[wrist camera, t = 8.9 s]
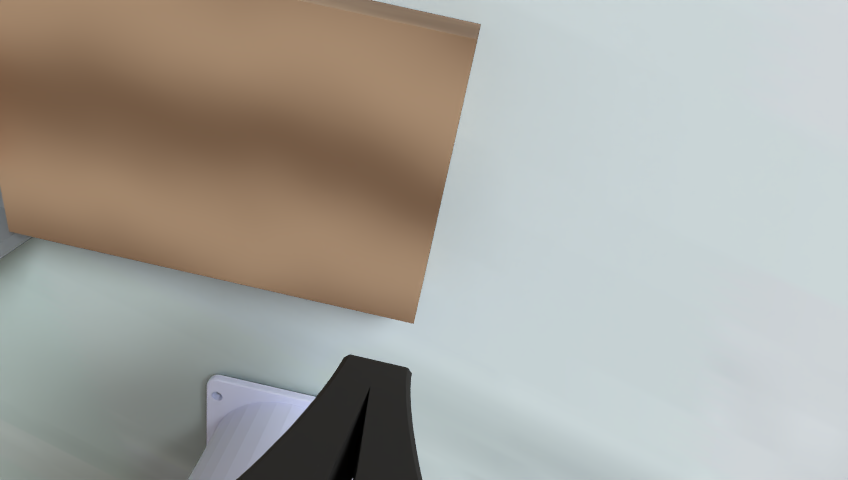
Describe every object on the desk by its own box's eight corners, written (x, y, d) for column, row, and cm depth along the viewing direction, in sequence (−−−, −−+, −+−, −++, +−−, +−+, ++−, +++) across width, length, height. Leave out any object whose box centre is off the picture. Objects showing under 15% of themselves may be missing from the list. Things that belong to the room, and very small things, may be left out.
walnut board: (422, 285, 23) (413, 323, 21) (54, 202, 24) (9, 231, 21) (480, 24, 18) (477, 39, 16) (15, -78, 19) (-50, -77, 17)
